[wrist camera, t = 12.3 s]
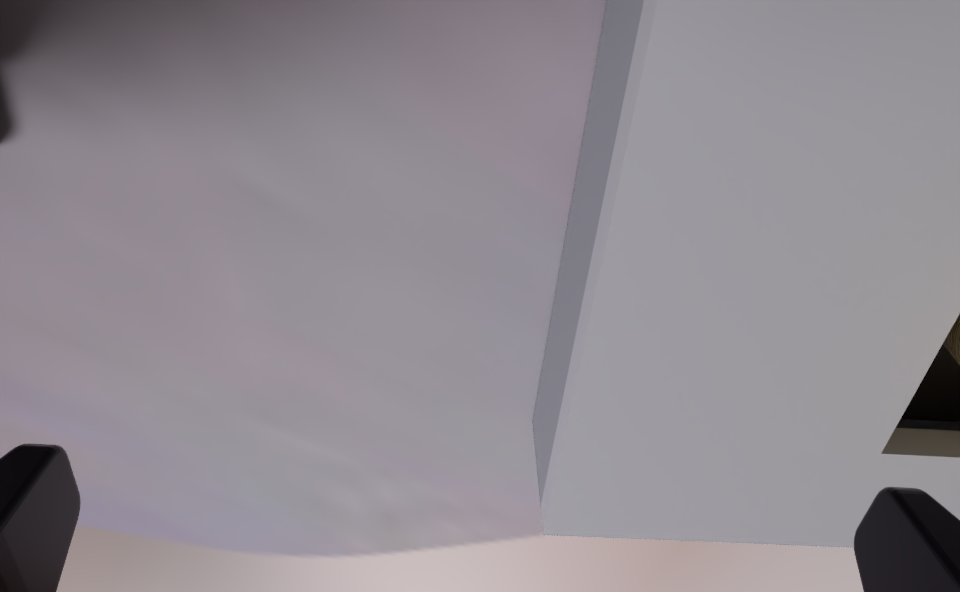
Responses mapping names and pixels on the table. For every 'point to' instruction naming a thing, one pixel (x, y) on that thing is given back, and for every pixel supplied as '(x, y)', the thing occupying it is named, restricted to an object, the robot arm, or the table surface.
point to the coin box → (755, 272)
